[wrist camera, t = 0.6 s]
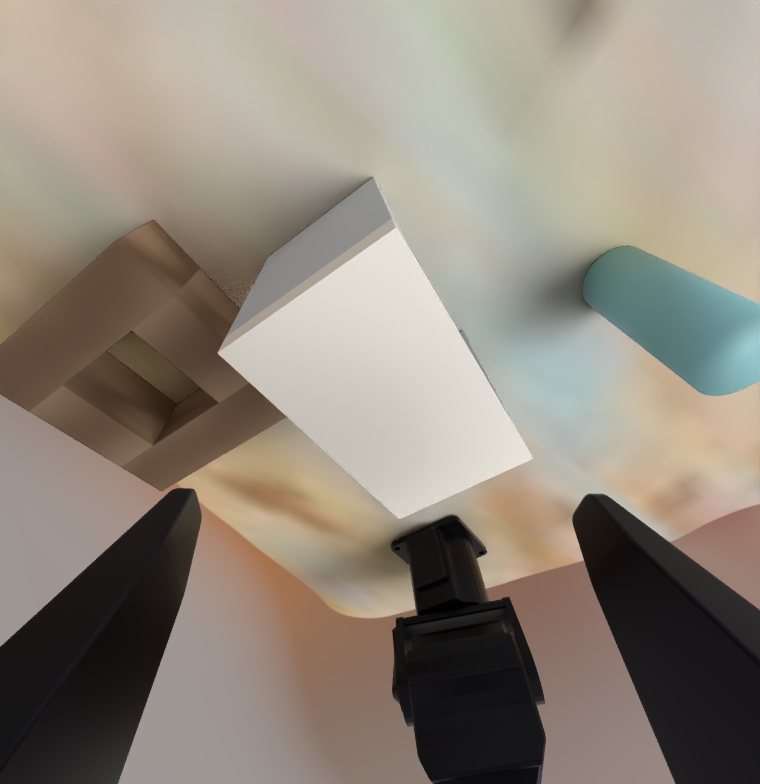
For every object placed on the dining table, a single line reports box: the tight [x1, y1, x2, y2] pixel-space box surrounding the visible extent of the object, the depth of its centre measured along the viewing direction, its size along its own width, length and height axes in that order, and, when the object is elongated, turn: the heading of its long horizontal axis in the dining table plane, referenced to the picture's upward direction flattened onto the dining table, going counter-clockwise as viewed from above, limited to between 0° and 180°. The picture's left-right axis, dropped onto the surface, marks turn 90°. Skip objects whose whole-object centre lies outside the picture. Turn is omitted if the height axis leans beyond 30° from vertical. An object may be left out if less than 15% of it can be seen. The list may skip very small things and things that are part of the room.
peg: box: [582, 246, 760, 396], centre depth 17 cm, size 3×3×8 cm
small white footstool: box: [218, 177, 533, 519], centre depth 16 cm, size 10×6×9 cm, turn 33°
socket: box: [0, 220, 287, 491], centre depth 19 cm, size 10×10×4 cm
